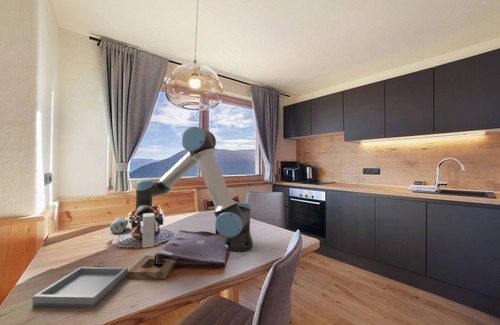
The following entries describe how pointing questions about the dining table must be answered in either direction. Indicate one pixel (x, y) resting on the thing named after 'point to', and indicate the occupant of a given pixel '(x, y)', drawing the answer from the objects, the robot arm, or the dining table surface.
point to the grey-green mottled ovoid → (118, 225)
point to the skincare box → (148, 229)
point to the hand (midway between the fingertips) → (149, 228)
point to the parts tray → (81, 287)
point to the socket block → (150, 269)
